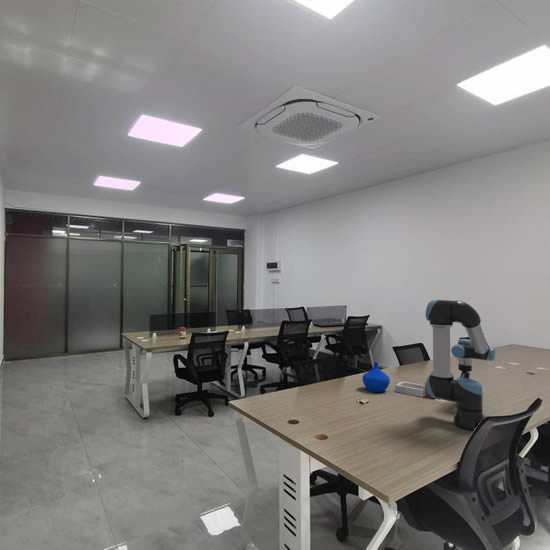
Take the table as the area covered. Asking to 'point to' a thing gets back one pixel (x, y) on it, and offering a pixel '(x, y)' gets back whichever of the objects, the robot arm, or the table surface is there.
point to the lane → (410, 388)
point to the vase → (376, 379)
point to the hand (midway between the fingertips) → (465, 401)
